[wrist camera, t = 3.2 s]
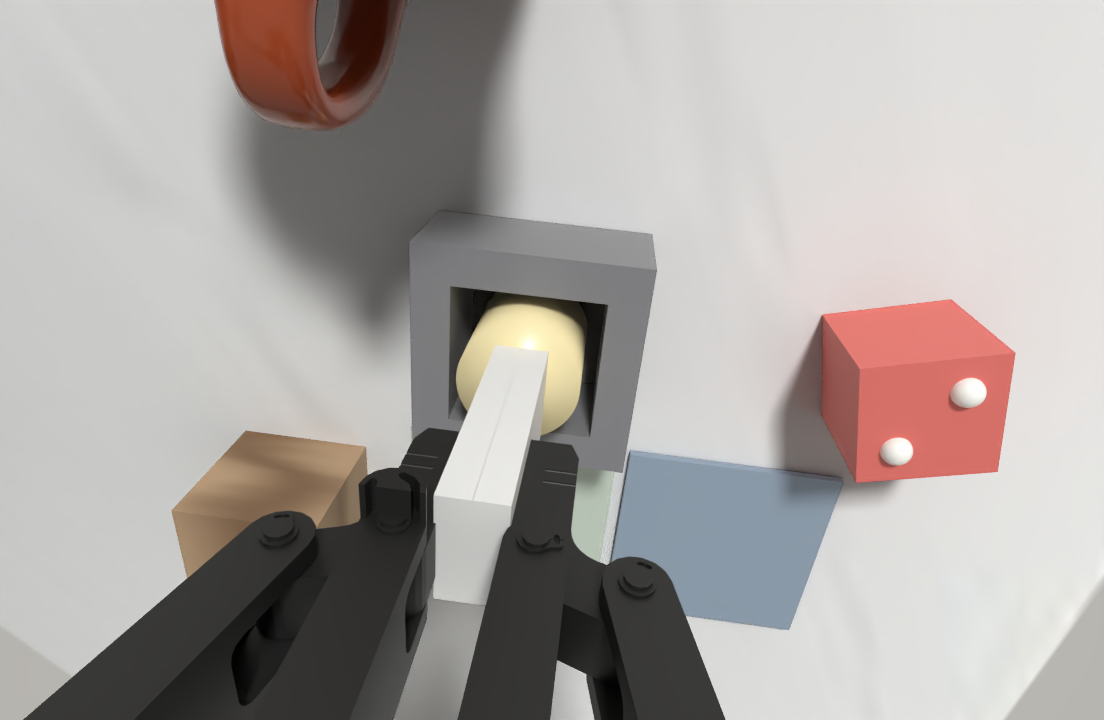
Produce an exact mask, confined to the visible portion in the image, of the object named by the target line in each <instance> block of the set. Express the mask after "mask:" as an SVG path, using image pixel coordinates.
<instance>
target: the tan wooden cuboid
mask: <svg viewBox="0 0 1104 720" xmlns="http://www.w3.org/2000/svg"><path fill="white" fill-rule="evenodd" d="M366 476H367V458H366V447H363V446H356V445H348V444H341V443H333V442H326V441H318V440H311V439H303V438H296V437H288V436H281V435H273V434H266V433H258V432H251V431H245V432H244V433H243V434H242V436H241V437H240V438H239V439H238V440H237V441H236V442H235V443H234V444H233V445H232V446H231V447H230V448H229V450H228V451H227V452H226V453H225V454H224V455H223V456H222V457H221V458H220V459H219V460H218V461H217V462H216V463H215V465H214V466H213V467H212V468H211V469H210V470H209V471H208V472H207V473H206V474H205V475H204V476H203V477H202V479H201V480H200V481H199V482H198V483H197V484H196V485H195V486H194V487H193V488H192V489H191V490H190V491H189V492H188V494H187V495H186V496H185V497H184V498H183V499H182V500H181V501H180V502H179V503H178V504H177V505H176V506H175V508H174V509H173V510H172V515H173V519H174V523H175V528H176V532H177V536H178V540H179V545H180V549H181V553H182V557H183V562H184V566H185V570H186V574H187V578H188V577H189V576H191V575H192V574H193V573H194V572H195V571H196V570H198V569H199V568H200V567H201V566H202V565H203V564H204V563H206V562H207V561H208V560H209V559H210V558H211V557H213V556H214V555H215V554H216V553H217V552H218V551H220V550H221V549H222V548H223V547H224V546H225V545H227V544H228V543H229V542H230V541H231V540H232V539H234V538H235V537H236V536H237V535H238V534H239V533H240V532H242V531H243V530H244V529H245V528H246V527H247V526H249V525H250V524H251V523H253V522H254V521H256V520H257V519H259V518H260V517H262V516H265V515H268V514H271V513H274V512H279V511H289V510H290V511H296V512H302V513H304V514H306V515H307V516H309V517H311V518H312V520H313V521H314V523H315V525H316V529H320V528H330V527H339V526H345V525H350V524H353V523H356V522H358V521H359V519H360V502H359V486H358V484H359V483H360V482H361V481H362V480H363V479H364V478H365V477H366Z"/></svg>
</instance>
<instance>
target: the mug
mask: <svg viewBox="0 0 1104 720" xmlns="http://www.w3.org/2000/svg"><path fill="white" fill-rule="evenodd" d="M214 3H215V8H216V14H217V21H218V27H219V33H220V38H221V44H222V48H223V52H224V56H225V60H226V63H227V66H228V70H229V73H230V75H231V78H232V80H233V82H234V84H235V86H236V89H237V91H238V93H239V95H240V96H241V98H242V99H243V101H244V102H245V103H246V105H247V106H248V107H249V108H250V109H251V110H253V111H254V112H255V113H256V114H257V115H258V116H260V117H261V118H262V119H264V120H266V121H269V122H271V123H274V124H277V125H280V126H284V127H288V128H294V129H300V130H307V131H331V130H337V129H340V128H342V127H345V126H347V125H349V124H351V123H352V122H354V121H356V120H357V119H359V118H360V117H361V116H362V115H364V114H365V113H366V111H367V110H368V109H369V108H370V107H371V105H372V104H373V103H374V101H375V100H376V98H377V97H378V95H379V94H380V92H381V90H382V88H383V86H384V84H385V82H386V79H387V77H388V74H389V72H390V69H391V66H392V62H393V59H394V55H395V51H396V47H397V42H398V37H399V33H400V28H401V24H402V20H403V16H404V12H405V9H406V6H407V3H408V0H337V10H336V16H335V22H334V26H333V30H332V33H331V37H330V40H329V42H328V44H327V47H326V49H325V51H324V52H323V54H322V56H321V57H320V59H319V60H318V59H317V50H316V12H317V5H318V0H214Z"/></svg>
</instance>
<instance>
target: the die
mask: <svg viewBox="0 0 1104 720" xmlns="http://www.w3.org/2000/svg"><path fill="white" fill-rule="evenodd" d="M1014 359H1015V352H1014V351H1013V350H1011V349H1010V348H1009V347H1008V346H1007V345H1005V344H1004V343H1003V342H1002V341H1001V340H999V339H998V338H997V337H996V336H995V335H993V334H992V333H991V332H990V331H989V330H987V329H986V328H985V327H984V326H983V325H981V324H980V323H979V322H978V321H977V320H975V319H974V318H973V317H972V316H971V315H969V314H968V313H967V312H966V311H964V310H963V309H962V308H961V307H960V306H958V305H957V304H956V303H955V302H954V301H952V300H942V301H934V302H925V303H917V304H908V305H900V306H891V307H883V308H874V309H866V310H857V311H849V312H841V313H832V314H824V315H822V417H823V419H824V421H825V423H826V425H827V427H828V429H829V431H830V433H831V435H832V437H833V439H834V441H835V443H836V445H837V447H838V449H839V450H840V452H841V454H842V456H843V458H844V460H845V462H846V464H847V466H848V468H849V470H850V472H851V474H852V476H853V478H854V480H855V482H856V483H860V482H873V481H886V480H899V479H912V478H925V477H938V476H951V475H964V474H977V473H990V472H998V466H999V459H1000V452H1001V446H1002V439H1003V432H1004V426H1005V419H1006V412H1007V406H1008V399H1009V392H1010V386H1011V379H1012V372H1013V366H1014Z"/></svg>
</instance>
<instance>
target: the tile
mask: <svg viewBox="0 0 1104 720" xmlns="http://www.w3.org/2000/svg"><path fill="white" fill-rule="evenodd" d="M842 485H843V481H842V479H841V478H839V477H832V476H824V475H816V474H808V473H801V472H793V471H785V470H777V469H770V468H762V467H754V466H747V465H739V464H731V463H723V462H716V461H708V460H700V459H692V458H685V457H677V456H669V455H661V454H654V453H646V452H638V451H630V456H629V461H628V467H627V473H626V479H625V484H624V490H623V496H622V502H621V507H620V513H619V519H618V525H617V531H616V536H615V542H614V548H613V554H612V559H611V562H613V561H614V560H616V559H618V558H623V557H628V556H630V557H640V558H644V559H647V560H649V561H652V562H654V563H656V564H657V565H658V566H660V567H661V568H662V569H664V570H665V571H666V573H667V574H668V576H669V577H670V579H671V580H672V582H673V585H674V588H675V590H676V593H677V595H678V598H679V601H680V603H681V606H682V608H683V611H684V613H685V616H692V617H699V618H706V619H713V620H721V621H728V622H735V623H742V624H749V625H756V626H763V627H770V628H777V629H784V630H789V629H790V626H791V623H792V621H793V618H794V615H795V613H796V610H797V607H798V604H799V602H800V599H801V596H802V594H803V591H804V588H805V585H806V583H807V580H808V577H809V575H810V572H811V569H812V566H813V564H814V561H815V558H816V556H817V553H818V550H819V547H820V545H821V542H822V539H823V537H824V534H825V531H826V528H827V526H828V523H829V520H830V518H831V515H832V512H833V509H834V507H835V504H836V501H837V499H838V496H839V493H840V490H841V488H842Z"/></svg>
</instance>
